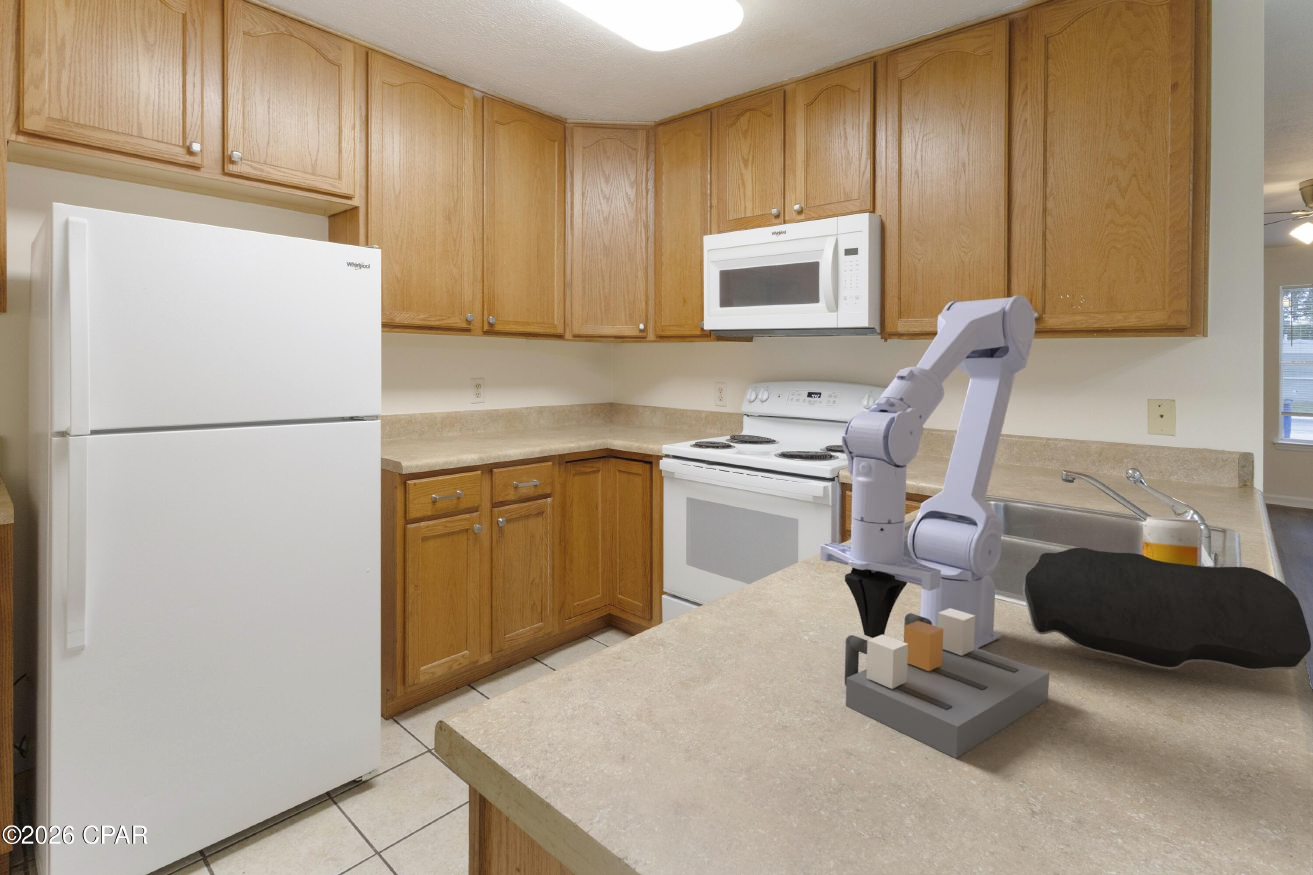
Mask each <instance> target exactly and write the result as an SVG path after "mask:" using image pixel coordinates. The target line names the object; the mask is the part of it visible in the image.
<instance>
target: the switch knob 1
mask: <svg viewBox="0 0 1313 875" xmlns="http://www.w3.org/2000/svg"><path fill="white" fill-rule="evenodd" d="M907 660H908V644H907V643H904V641H901V640H899V639H896V638H893V637H891V636H888V635H885V634H884V635H880V636H877V637H875V638H870V639H867V654H866V669H867V674H866V678H868V679H870V680H872V681H875V682H877V683H879V684H882V685H884V686H886V687H889V688H891V689H893V688H895V687H897V686H899V685H901V684H903V683H905V682H907Z"/></svg>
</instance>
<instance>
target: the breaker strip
mask: <svg viewBox="0 0 1313 875" xmlns="http://www.w3.org/2000/svg"><path fill="white" fill-rule="evenodd" d="M866 674H867V668H866V669H864V670H861V671H858V673H857V674H854V675H852V676H850V677H847V680H846V685H845V687H846V688H845V689H846V690H845V706H846V707H847V708H850V709H852V710H854V711H856V712H859V714H860V713H861V714H863V715H864V716H867V717H869V718H871V719H873V720H874V721H877V722H879V723H881V724H884V725H885V726H887V727H889V728H892V729H893V730H895V731H898V732H900V733H902V734H904V735H906V736H908V737H911V738H913V739H915V740H916V741H918V742H920V743H922V744H924V745H927V746H929V747H931V748H933V749H935V750H937V751H940V752H941V753H944V754H945V755H948V756H950V757H952V758H954V759H958V758H960V757H961V756H963V755H964V754H965V753H967V752H969V751H971V750H972V749H973V748H975V747H976V746H979V744H981V743H983V742H985V741H986V740H987V739H989V738H991V737H992V736H994V735H996V734H997V733H998V732H1000V731H1002V730H1003V729H1004V728H1006V727H1008V726H1010V724H1012V723H1014V722H1015V721H1017V720H1019V719H1021V717H1023V716H1025V715H1026V714H1028V713H1029V712H1031V711H1033V710H1035V709H1036V708H1038V706H1040V705H1042V704H1044V703H1045V702H1047V701H1048V700H1049V699H1048V698H1049V685H1050V684H1049V682H1050V672H1049V671H1046V670H1044V669H1041V668H1037V667H1034V666H1031V665H1027V664H1025V663H1021V662H1019V661H1016V660H1014V659H1010V658H1008V657H1004V656H1001V655H1000V654H995V653H993V652H990V651H986V650H984V649H981V648H975V647H974V650H973V651H971V652H968V653H966V654H964V655H962V656H961V655H959V654H956V653H953V652H950V651H947V650H944V649H943V653H942V665H941V666H939V667H937V668H935V669H933V670H931V671H927V670H924V669H921V668H919V667H916V666H914V665H911V664H908V663H907V682H905V683H903V684H901V685H899V686H897V687H895V688H893V689H891V688H889V687H886V686H884V685H882V684H879V683H877V682H875V681H872V680H870V679H868V678H866Z"/></svg>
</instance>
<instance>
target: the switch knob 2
mask: <svg viewBox="0 0 1313 875" xmlns="http://www.w3.org/2000/svg"><path fill="white" fill-rule="evenodd" d="M937 627H939V628H942V629H943V649H944V650H947V651H950V652H953V653H956V654H959V655H961V656H962V655H964V654H966V653H968V652H971V651H973V650H974V632H975V615H971V614H968V613H965V612H961V611H958V610H955V609H951V608H949V609H946V610H944V611H941V612H939V613H938V625H937Z"/></svg>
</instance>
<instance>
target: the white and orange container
mask: <svg viewBox="0 0 1313 875" xmlns="http://www.w3.org/2000/svg"><path fill="white" fill-rule="evenodd" d="M1142 526H1143V527H1142V555H1143V556H1146V557H1148V558H1150V559H1154V560H1157V561H1162V562H1168V563H1176V564H1184V565H1193V566H1202V554H1203V553H1202V551H1203V550H1202V546H1203V545H1202V542H1203V529H1202V527H1201V525H1200V523H1199V520H1198V519H1192V518H1191V519H1190V518H1181V517H1180V518H1179V517H1165V516H1164V517H1163V516H1146V520H1145V521H1144V523H1143V525H1142Z"/></svg>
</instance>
